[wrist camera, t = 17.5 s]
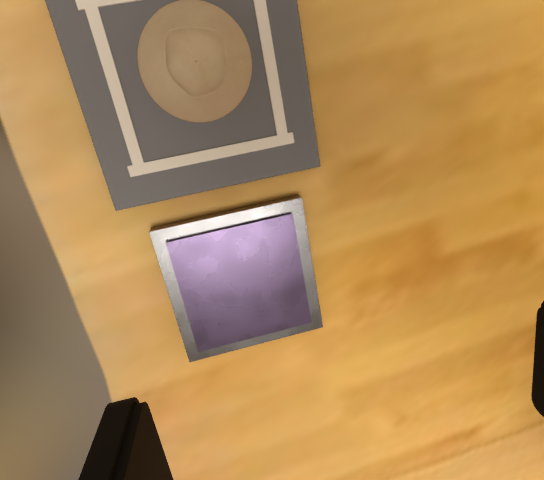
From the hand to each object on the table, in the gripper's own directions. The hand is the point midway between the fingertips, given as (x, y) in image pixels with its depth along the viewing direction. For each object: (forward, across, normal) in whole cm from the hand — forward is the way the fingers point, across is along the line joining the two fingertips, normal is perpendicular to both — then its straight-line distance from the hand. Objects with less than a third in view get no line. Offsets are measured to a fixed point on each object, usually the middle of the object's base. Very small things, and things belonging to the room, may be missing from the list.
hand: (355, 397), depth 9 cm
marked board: (+23, +2, -10) cm, 25 cm away
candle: (+22, +2, -10) cm, 24 cm away
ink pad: (+23, +2, +6) cm, 24 cm away
